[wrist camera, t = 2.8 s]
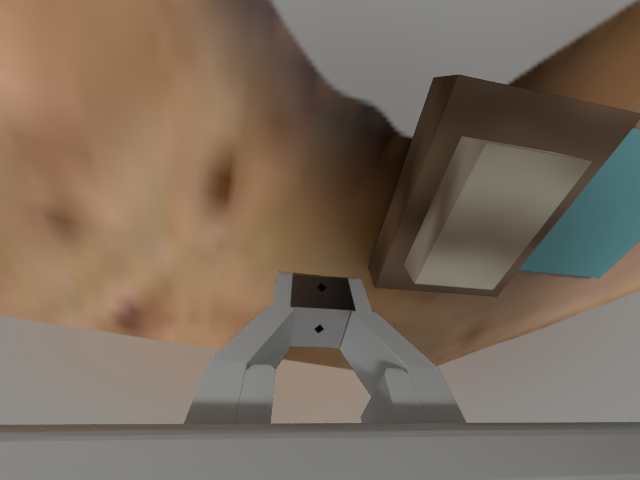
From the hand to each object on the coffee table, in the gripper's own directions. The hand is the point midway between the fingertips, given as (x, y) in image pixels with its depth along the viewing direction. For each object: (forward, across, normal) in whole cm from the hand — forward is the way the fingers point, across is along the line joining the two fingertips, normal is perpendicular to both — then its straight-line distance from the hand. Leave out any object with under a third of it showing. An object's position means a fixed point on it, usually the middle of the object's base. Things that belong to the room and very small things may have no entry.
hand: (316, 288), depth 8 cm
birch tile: (+7, -10, -1) cm, 13 cm away
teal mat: (+9, -24, -2) cm, 26 cm away
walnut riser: (+9, -12, -1) cm, 15 cm away
